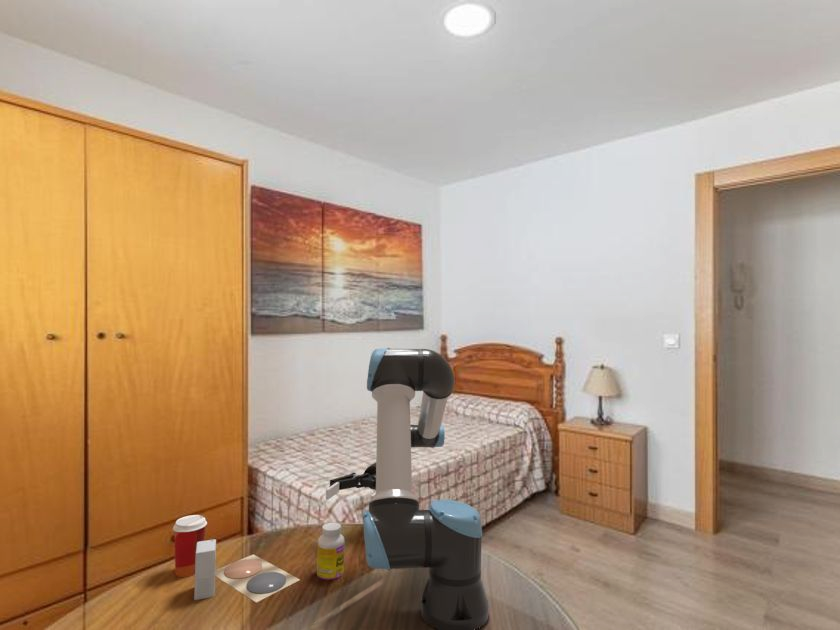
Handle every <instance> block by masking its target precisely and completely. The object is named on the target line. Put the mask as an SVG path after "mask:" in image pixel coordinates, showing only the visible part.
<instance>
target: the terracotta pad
mask: <svg viewBox="0 0 840 630" xmlns="http://www.w3.org/2000/svg"><path fill="white" fill-rule="evenodd" d="M239 560H240V561H239ZM239 560H236V561H234V562H232V563H229V564H230V565H229V564H227V565H228V566H227V565H226V566H227V567H226V568H225V570H224V575H225V576H226V577H228V578H231V579H243V578H248V577H251V576H253V575H255V574H257V573H258V572H260V570H261V569H262V563H261V562H260V561H257V560H253V559H246V560H241V559H239Z"/></svg>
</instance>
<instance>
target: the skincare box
mask: <svg viewBox="0 0 840 630" xmlns="http://www.w3.org/2000/svg"><path fill="white" fill-rule="evenodd" d="M216 550H217V539H213V538H212V539H208V540H204V541H200V542H197V546H196V560H195V575H194V592H193V593H194V595H193V600H194V601H199V600H203V599H209V598H213V597H215V594H216V593H215V592H216V591H215V589H216V576H215V570H216V557H217V554H216V552H217V551H216Z"/></svg>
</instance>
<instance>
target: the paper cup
mask: <svg viewBox="0 0 840 630" xmlns="http://www.w3.org/2000/svg"><path fill="white" fill-rule="evenodd" d="M207 525H208V522H207V520H206V517H204V516H203V515H201V514H193V515H192V514H191V515H186V516H182V517H180V518H178V519H177V520H176V521H175V523H174V525H173V527H172V531H173V532H174V533H173V534H174V565H175V566H174V570H175V572H174V573H175V575H176V576H177V577H178V578H179V577H180V578H187V577H191V576H195V560H196V546H197V542H200V541H205V536H206V535H205V533H206V526H207Z"/></svg>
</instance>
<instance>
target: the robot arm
mask: <svg viewBox="0 0 840 630" xmlns="http://www.w3.org/2000/svg"><path fill="white" fill-rule="evenodd" d="M367 370H368V371H367V379H366V390H367V391H369V392H370V393H371V397H372V399H374V400H375V401H376V403H377V404H376V405H377V407H376V408H377V410H376V411H377V412H376V453H375V454H376V456H375V457H376V458H375V459H376V461H374V462H373V463H372V464H371V465H369V466H368V467H367V468H366V469H364V472H363V474H358V475H356V472H352V473H349V474H346V475H343V476H339V477H336V478H332V479H329V487H327V488H326V489H325V500H327V501H329V500H330V499H332V498H333V497H334V496H335V495H337V494H339V493H340V491H342V490H347V489H354V488H356V489H361V488H369V489H371V490H374V492H373V493H372V494H371V495H370V500H369V502H368V509H366V510H364V511H362V522H363V525H362V526H363V538H364V547H365V558H366V559H365V560H366V563H367V565H368V566H369V568H371V569H373V570H375V569H376V570H377V569H379V570H380V569H381V570H387V571H390V570H392V569H393V570H395V569H396V570H397V569H398V570H399V569H423V568H424V569H425V568H428V577H427V579H426V582H425V583H426V584H425V586H424V589H423V591H422V595H421V599H420V614H421V617H422V619H423V621H425V623H426V624H428V625H429V626H430V627H432V628H433V627H434V629H435V628H436V629H435V630H438V629H439V630H474V629H477V630H479V629H480V628H479V627H481V626H482V627H484V626H485V624H486V623H487V621H488V620H489V615H490V614H489V610H490V609H489V601H488V599H487V594H486V591H485V586H484V584H483V580H482V537H483V528H482V526H483V525H482V517H481V515H480V513H479V512H478V510H477V509H476V508H475V507H473V506H471V505H469V504H468V503H465V502H462V501H458V500H453V499H438V500H434V501H432V502H431V503H430V506H429V509H420V501H419V499H418V498H417V497H416V496H415V495H414V494H413V481H412V480H413V477H412V473H413V472H412V448H433V449H434V448H441V447H443V446H444V444H445V438H446V437H445V435H446V434H445V428H444V427H445V426H443V425H442V423H443V419H444V414H445V411H446V407H447V403H448V398H449V397H450V396H451V395H452V394H453V392H454V390H455V389H454V388H455V384H456V383H455V382H456V379H455V378H456V377H455V373H454V370H453V368H452V366H451V364H450V363H449V361H448V360H447V359H446V358H445V356H442V354H440V353H439V352H437V351H435V350H432V349H428V348H390V347H387V348H376V349H374V350H372V352H371V355H370V359H369V364H368V369H367ZM416 392H422V397H421V398H422V399H421V405H420V411H419V417H418V421H417V424H411V403H410V402H411V401H413V400H414V398H415V397H416ZM482 627H481V628H482ZM478 628H479V629H478Z"/></svg>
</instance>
